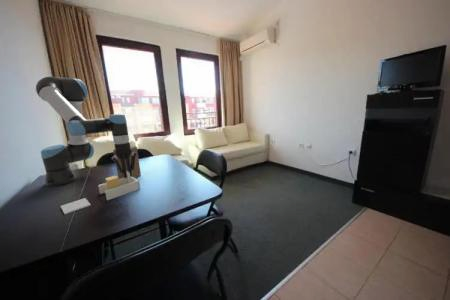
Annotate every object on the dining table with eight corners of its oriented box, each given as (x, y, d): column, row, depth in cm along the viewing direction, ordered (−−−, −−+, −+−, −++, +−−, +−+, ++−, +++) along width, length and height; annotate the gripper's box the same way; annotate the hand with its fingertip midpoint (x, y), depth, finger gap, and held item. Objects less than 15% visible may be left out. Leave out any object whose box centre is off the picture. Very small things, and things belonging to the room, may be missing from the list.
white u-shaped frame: (100, 193, 104) (98, 185, 103) (131, 183, 116) (130, 175, 115) (107, 200, 96) (105, 191, 95) (140, 188, 108) (138, 180, 107)
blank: (108, 193, 104) (105, 178, 102) (117, 190, 108) (115, 175, 105) (111, 196, 101) (108, 180, 98) (121, 192, 104) (118, 177, 102)
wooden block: (131, 180, 121) (126, 150, 116) (118, 179, 123) (112, 149, 118) (141, 174, 131) (137, 146, 126) (128, 173, 133) (123, 146, 128)
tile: (60, 207, 91) (60, 205, 91) (85, 199, 98) (85, 197, 98) (64, 214, 85) (64, 213, 85) (90, 205, 92) (90, 204, 92)
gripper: (111, 145, 96) (119, 188, 102) (136, 141, 105) (142, 180, 111) (106, 144, 101) (114, 184, 107) (131, 140, 110) (137, 177, 116)
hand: (129, 182), depth 109 cm, fingers closed
